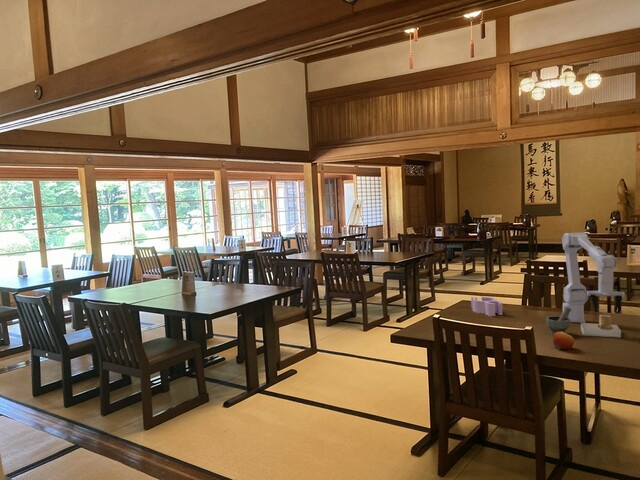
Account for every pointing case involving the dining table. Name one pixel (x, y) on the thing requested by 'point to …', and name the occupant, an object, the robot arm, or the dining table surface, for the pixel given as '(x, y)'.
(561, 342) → the fruit
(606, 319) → the peg
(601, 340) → the dining table surface
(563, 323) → the mortar and pestle
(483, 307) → the clip
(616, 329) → the white rectangular slab
